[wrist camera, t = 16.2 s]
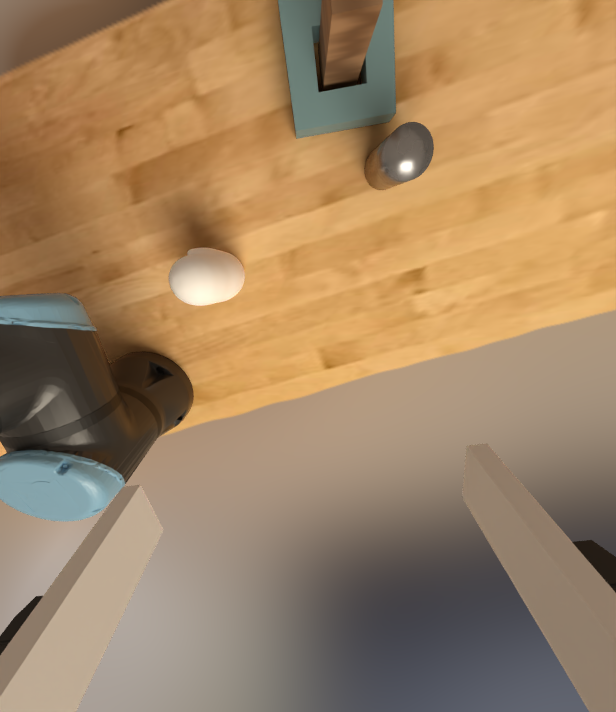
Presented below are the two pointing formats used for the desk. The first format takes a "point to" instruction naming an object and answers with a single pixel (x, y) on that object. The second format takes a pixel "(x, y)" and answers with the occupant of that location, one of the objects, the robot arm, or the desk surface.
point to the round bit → (400, 157)
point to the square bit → (345, 39)
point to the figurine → (206, 276)
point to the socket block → (343, 104)
